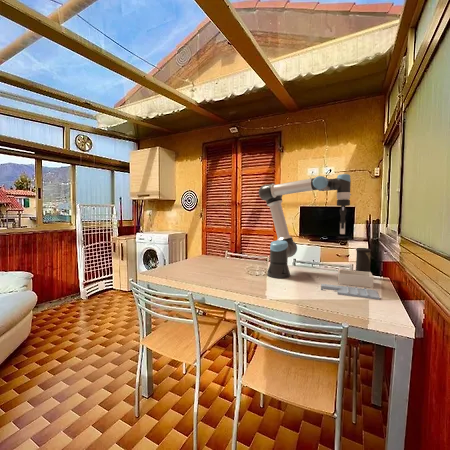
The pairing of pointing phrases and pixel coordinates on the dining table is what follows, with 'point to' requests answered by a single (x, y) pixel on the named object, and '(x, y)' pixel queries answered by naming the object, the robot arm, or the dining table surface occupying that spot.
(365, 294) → the grey segmented tray
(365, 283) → the tub
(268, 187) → the robot arm
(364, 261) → the container
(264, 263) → the dining table surface
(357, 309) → the dining table surface
